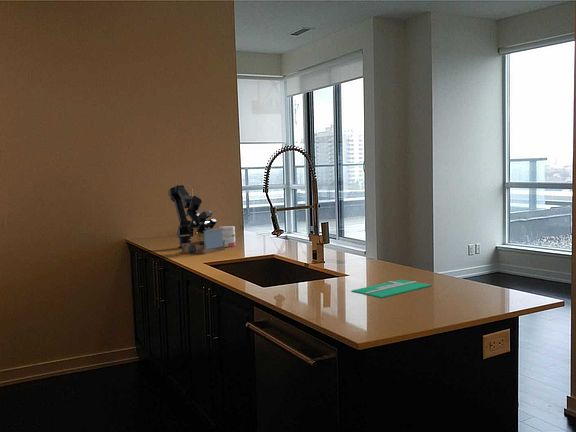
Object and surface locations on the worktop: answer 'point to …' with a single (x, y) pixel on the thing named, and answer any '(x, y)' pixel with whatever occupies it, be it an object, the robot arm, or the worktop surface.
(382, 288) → the sign
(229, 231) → the ink box
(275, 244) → the worktop surface
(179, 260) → the worktop surface
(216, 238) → the tailgate
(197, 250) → the tray
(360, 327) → the worktop surface
